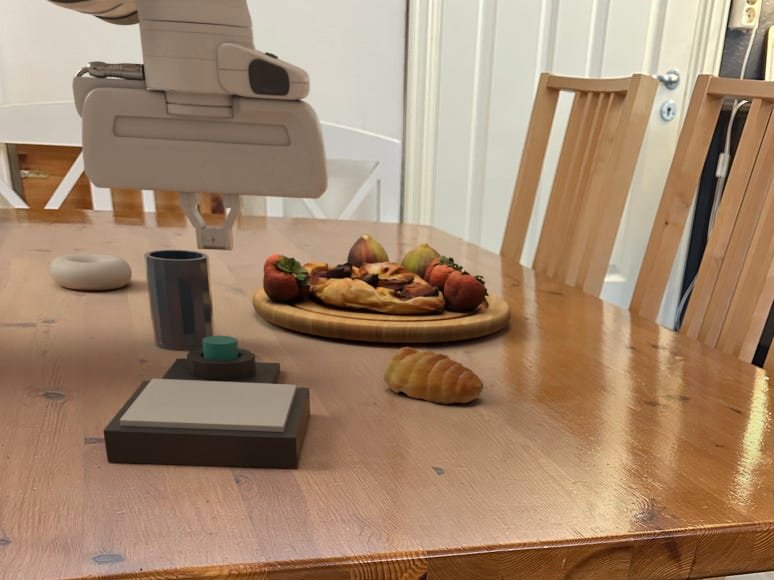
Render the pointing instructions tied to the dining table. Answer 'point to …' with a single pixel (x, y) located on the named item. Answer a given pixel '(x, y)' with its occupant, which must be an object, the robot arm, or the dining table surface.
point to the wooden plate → (380, 297)
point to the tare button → (220, 348)
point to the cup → (179, 298)
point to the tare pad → (223, 369)
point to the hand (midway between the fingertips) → (215, 249)
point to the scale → (210, 424)
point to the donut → (90, 271)
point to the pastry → (431, 377)
